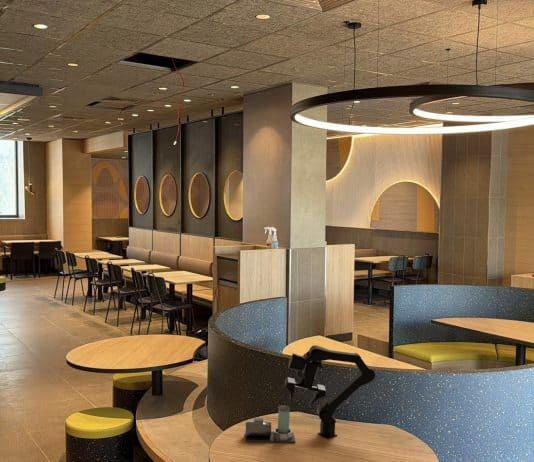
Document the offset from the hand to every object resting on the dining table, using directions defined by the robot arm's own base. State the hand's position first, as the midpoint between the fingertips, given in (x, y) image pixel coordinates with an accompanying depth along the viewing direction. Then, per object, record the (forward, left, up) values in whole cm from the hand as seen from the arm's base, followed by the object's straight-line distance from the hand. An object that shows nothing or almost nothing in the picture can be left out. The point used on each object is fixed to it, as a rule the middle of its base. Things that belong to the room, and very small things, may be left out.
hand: (300, 403), depth 270 cm
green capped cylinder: (-3, +11, -12) cm, 17 cm away
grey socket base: (0, +16, -13) cm, 21 cm away
